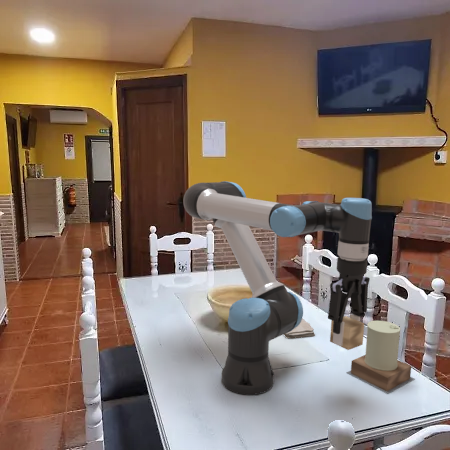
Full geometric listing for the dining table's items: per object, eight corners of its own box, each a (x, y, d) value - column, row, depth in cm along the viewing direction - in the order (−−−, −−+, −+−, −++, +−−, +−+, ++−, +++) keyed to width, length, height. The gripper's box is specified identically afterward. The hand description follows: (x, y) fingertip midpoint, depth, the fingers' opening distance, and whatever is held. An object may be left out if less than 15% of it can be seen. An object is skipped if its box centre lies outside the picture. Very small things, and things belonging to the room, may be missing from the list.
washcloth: (287, 341, 146) (288, 332, 146) (268, 322, 164) (269, 314, 163) (317, 337, 150) (317, 329, 149) (295, 319, 167) (296, 312, 166)
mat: (387, 395, 112) (387, 394, 112) (345, 373, 123) (345, 372, 123) (415, 380, 120) (415, 378, 120) (373, 361, 131) (373, 360, 131)
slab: (386, 391, 113) (387, 378, 113) (350, 373, 123) (351, 360, 122) (410, 378, 120) (411, 365, 120) (374, 362, 130) (375, 350, 129)
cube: (348, 350, 105) (350, 328, 104) (330, 341, 110) (331, 320, 109) (362, 344, 109) (364, 323, 108) (344, 336, 114) (345, 316, 113)
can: (400, 372, 116) (404, 332, 114) (366, 369, 117) (369, 329, 116) (394, 357, 125) (397, 320, 123) (362, 354, 126) (365, 317, 125)
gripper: (340, 265, 97) (333, 356, 101) (386, 256, 108) (378, 337, 112) (316, 259, 103) (311, 344, 107) (362, 250, 114) (355, 328, 118)
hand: (345, 340), depth 110 cm, fingers closed on cube, 6 cm apart
